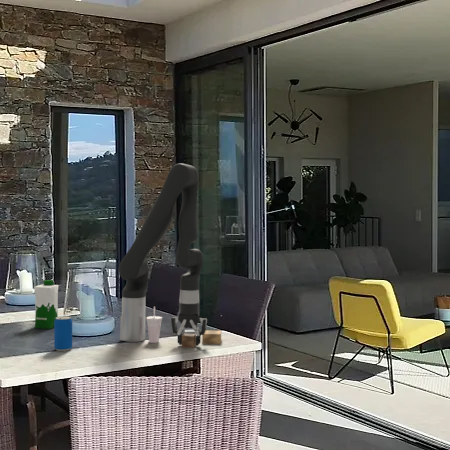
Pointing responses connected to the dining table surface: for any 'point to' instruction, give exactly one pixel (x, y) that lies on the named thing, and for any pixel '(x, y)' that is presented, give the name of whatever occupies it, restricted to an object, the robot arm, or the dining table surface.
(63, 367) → the dining table surface
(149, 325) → the smoothie
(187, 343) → the walnut cube
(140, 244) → the robot arm
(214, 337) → the teak block
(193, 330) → the slate-grey cube
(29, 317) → the dining table surface
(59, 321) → the beverage can
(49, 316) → the milk carton
